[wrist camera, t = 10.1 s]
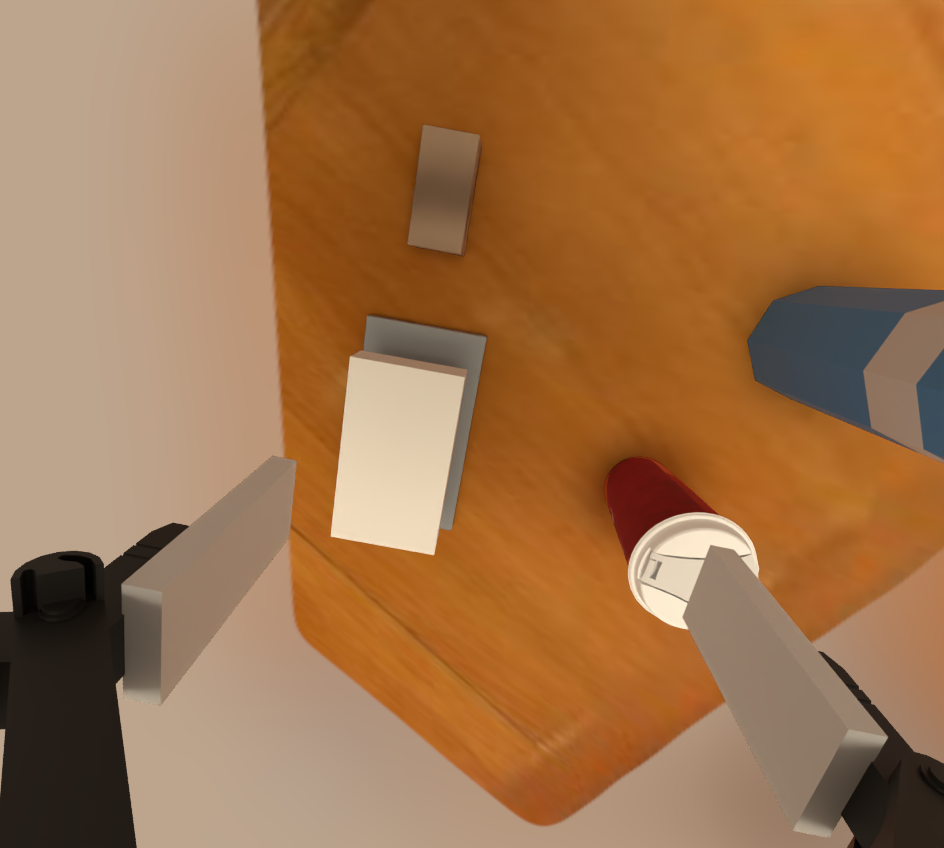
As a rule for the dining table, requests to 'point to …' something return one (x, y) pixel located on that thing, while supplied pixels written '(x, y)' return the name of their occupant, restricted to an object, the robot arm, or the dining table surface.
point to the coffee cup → (666, 535)
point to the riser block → (444, 189)
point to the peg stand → (443, 351)
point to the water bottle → (860, 359)
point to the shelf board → (396, 450)
